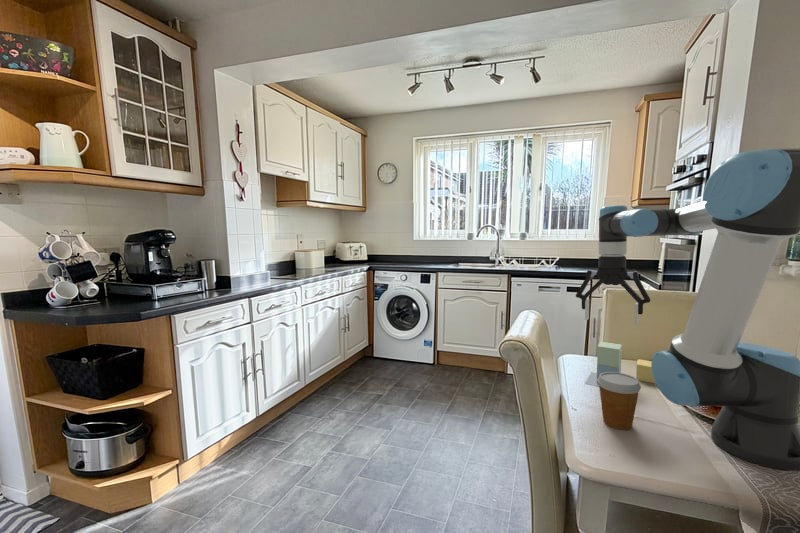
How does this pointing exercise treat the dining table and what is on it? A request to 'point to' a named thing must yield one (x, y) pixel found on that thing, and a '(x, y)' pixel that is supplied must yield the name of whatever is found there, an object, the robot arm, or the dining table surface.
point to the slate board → (592, 379)
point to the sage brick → (609, 354)
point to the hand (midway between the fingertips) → (610, 321)
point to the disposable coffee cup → (618, 398)
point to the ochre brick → (644, 371)
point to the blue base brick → (607, 369)
